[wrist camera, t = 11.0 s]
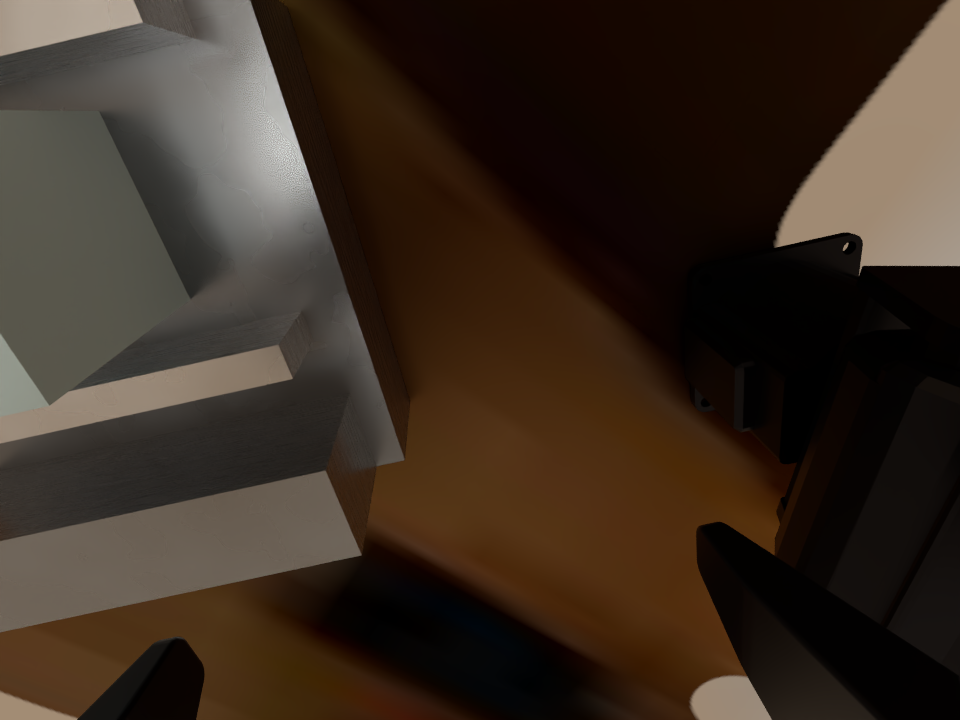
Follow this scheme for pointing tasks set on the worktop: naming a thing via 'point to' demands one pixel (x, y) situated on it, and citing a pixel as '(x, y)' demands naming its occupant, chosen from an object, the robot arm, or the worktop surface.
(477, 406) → the worktop surface
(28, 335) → the block
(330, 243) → the base
